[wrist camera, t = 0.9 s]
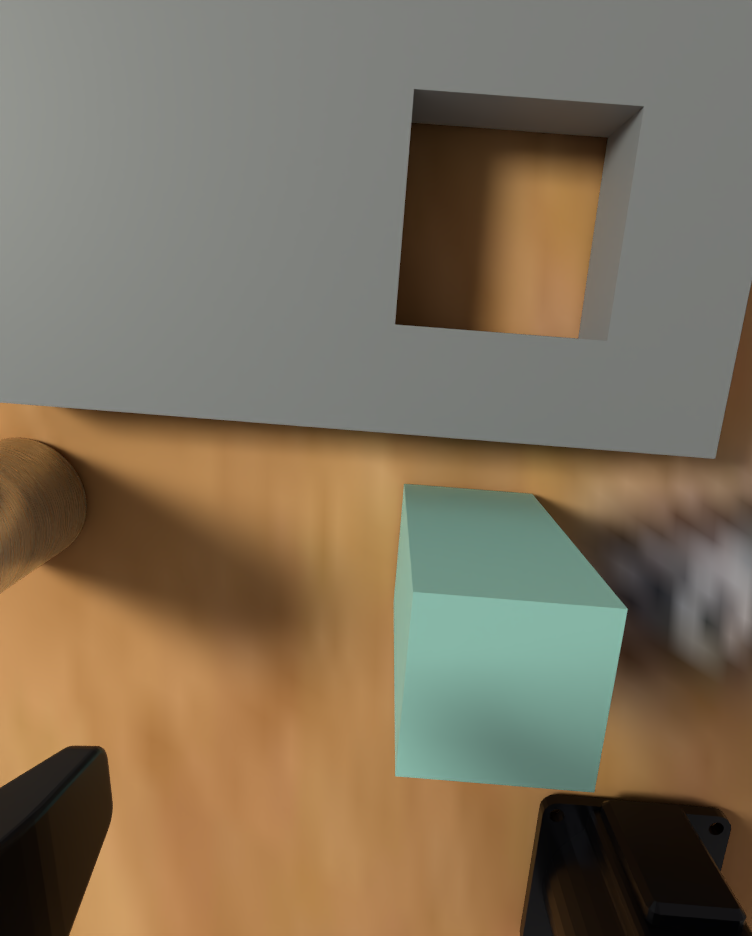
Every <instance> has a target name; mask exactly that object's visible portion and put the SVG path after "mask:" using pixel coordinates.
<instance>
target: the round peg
mask: <svg viewBox="0 0 752 936" xmlns="http://www.w3.org/2000/svg"><path fill="white" fill-rule="evenodd" d="M86 510H87V503H86V495H85V491H84V487H83V485H82V482H81V480H80V478H79V476H78V474H77V472H76V471H75V469H74V468H73V466H72V465H71V464H70V463H69V462H68V461H67V460H66V459H65V458H64V457H63V456H62V455H61V454H60V453H58V452H57V451H56V450H54V449H53V448H51V447H49V446H47V445H45V444H43V443H40V442H38V441H35V440H31V439H26V438H6V439H1V440H0V593H2V592H3V591H5V590H6V589H8V588H9V587H10V586H12V585H13V584H15V583H16V582H18V581H19V580H21V579H22V578H24V577H25V576H26V575H28V574H29V573H31V572H32V571H34V570H35V569H37V568H38V567H40V566H41V565H42V564H44V563H45V562H47V561H48V560H50V559H51V558H53V557H54V556H55V555H57V554H58V553H60V552H61V551H63V550H64V549H65V548H67V547H68V546H69V545H70V544H71V543H72V542H73V541H74V540H75V539H76V538H77V536H78V535H79V533H80V531H81V529H82V527H83V525H84V522H85V517H86Z"/></svg>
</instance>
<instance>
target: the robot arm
mask: <svg viewBox="0 0 752 936" xmlns="http://www.w3.org/2000/svg"><path fill="white" fill-rule="evenodd" d="M556 809H559V810H560V811H558V812H557V813H551V812H552V811H553V810H556ZM112 810H113V801H112V792H111V784H110V775H109V766H108V758H107V754H106V752H105V750H104V749H103V748H101V747H100V746H69V747H66V748H65V749H63V750H61V751H59V752H58V753H56V754H55V755H53V756H51V757H50V758H48V759H46V760H45V761H43V762H41V763H40V764H38V765H37V766H35V767H33V768H32V769H30V770H28V771H27V772H25V773H24V774H22V775H20V776H19V777H17V778H15V779H14V780H12V781H10V782H9V783H7V784H6V785H4V786H2V787H1V788H0V936H69V934H70V932H71V929H72V926H73V923H74V921H75V918H76V915H77V913H78V910H79V907H80V904H81V902H82V899H83V896H84V894H85V891H86V888H87V885H88V883H89V880H90V877H91V875H92V872H93V869H94V866H95V864H96V861H97V858H98V856H99V853H100V850H101V848H102V845H103V842H104V839H105V837H106V834H107V831H108V828H109V825H110V822H111V818H112ZM713 823H716V824H714V825H713V826H710V825H711V824H713ZM730 831H731V825H730V823H729V821H728V819H727V818H726V816H725V815H724V814H723V812H722V811H720V810H719V809H716V808H711V807H698V806H686V805H674V804H662V803H650V802H638V801H626V800H613V799H601V798H589V797H577V796H565V795H550V796H548V797H545V798H544V799H543V800H542V801H541V804H540V808H539V814H538V820H537V826H536V833H535V839H534V845H533V851H532V858H531V864H530V870H529V876H528V883H527V889H526V895H525V901H524V908H523V914H522V920H521V926H520V936H752V932H751V930H750V928H749V926H748V925H747V923H746V921H745V920H746V915H745V912H744V910H743V909H742V907H741V905H740V904H739V902H738V900H737V899H736V897H735V895H734V894H733V892H732V890H731V889H730V887H729V885H728V884H727V882H726V880H725V879H724V877H723V875H722V874H721V868H722V864H723V860H724V855H725V851H726V847H727V843H728V839H729V835H730Z"/></svg>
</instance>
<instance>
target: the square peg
mask: <svg viewBox="0 0 752 936" xmlns="http://www.w3.org/2000/svg"><path fill="white" fill-rule="evenodd" d="M627 610H628V609H627V608H626V606H625V605H624V604H623V603H622V602H621V600H620V599H619V598H618V597H617V596H616V594H615V593H614V592H613V591H612V590H611V588H610V587H609V586H608V585H607V583H606V582H605V581H604V580H603V579H602V577H601V576H600V575H599V574H598V573H597V571H596V570H595V569H594V568H593V567H592V565H591V564H590V563H589V562H588V561H587V559H586V558H585V557H584V556H583V555H582V553H581V552H580V551H579V550H578V548H577V547H576V546H575V545H574V544H573V542H572V541H571V540H570V539H569V538H568V536H567V535H566V534H565V533H564V532H563V530H562V529H561V528H560V527H559V526H558V524H557V523H556V522H555V521H554V519H553V518H552V517H551V516H550V515H549V513H548V512H547V511H546V510H545V509H544V507H543V506H542V505H541V504H540V503H539V501H538V500H537V499H536V498H535V497H534V495H533V494H527V493H514V492H502V491H489V490H476V489H464V488H451V487H439V486H426V485H413V484H404V492H403V503H402V515H401V526H400V537H399V548H398V559H397V571H396V582H395V593H394V686H395V776H400V777H413V778H425V779H437V780H449V781H461V782H473V783H486V784H498V785H510V786H522V787H534V788H547V789H559V790H571V791H583V792H594V791H595V785H596V780H597V775H598V769H599V764H600V758H601V753H602V747H603V742H604V736H605V731H606V725H607V720H608V714H609V709H610V703H611V698H612V692H613V687H614V682H615V676H616V671H617V665H618V660H619V654H620V649H621V643H622V638H623V632H624V627H625V621H626V616H627Z"/></svg>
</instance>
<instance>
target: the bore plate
mask: <svg viewBox="0 0 752 936" xmlns="http://www.w3.org/2000/svg"><path fill="white" fill-rule="evenodd" d="M411 123H422V124H436V125H449V126H462V127H475V128H488V129H502V130H515V131H528V132H541V133H554V134H568V135H581V136H594V137H607V138H608V140H607V146H606V153H605V160H604V167H603V174H602V181H601V187H600V194H599V201H598V208H597V215H596V221H595V228H594V235H593V242H592V249H591V255H590V262H589V269H588V276H587V283H586V289H585V296H584V303H583V310H582V317H581V323H580V330H579V337H578V339H575V338H562V337H549V336H536V335H524V334H511V333H498V332H485V331H472V330H459V329H446V328H434V327H421V326H408V325H395V319H396V306H397V294H398V281H399V269H400V257H401V244H402V232H403V219H404V207H405V195H406V182H407V170H408V157H409V145H410V133H411ZM751 282H752V0H0V402H2V403H14V404H27V405H40V406H52V407H65V408H78V409H90V410H103V411H116V412H129V413H141V414H154V415H167V416H179V417H192V418H205V419H217V420H230V421H243V422H255V423H268V424H281V425H293V426H306V427H319V428H331V429H344V430H357V431H369V432H382V433H395V434H407V435H420V436H433V437H445V438H458V439H471V440H483V441H496V442H509V443H522V444H534V445H547V446H560V447H572V448H585V449H598V450H610V451H623V452H636V453H648V454H661V455H674V456H686V457H699V458H712V459H715V457H716V452H717V447H718V443H719V438H720V433H721V428H722V423H723V418H724V413H725V408H726V404H727V399H728V394H729V389H730V384H731V379H732V374H733V369H734V365H735V360H736V355H737V350H738V345H739V340H740V335H741V330H742V326H743V321H744V316H745V311H746V306H747V301H748V296H749V291H750V287H751Z"/></svg>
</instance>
